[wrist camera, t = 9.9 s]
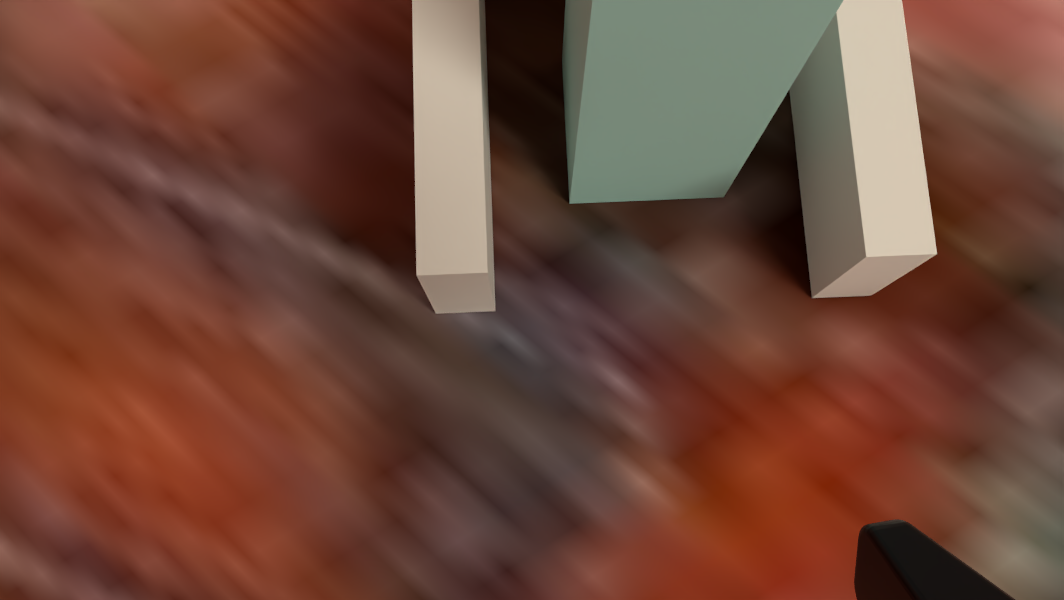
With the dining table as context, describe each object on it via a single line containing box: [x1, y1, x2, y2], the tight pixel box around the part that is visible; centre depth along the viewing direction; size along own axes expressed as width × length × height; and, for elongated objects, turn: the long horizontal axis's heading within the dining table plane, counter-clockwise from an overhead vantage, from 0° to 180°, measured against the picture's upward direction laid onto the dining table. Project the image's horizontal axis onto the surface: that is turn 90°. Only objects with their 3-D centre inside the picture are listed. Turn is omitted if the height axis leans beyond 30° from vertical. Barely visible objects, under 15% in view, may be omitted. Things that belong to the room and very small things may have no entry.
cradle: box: [412, 0, 937, 314], centre depth 23 cm, size 10×11×4 cm
